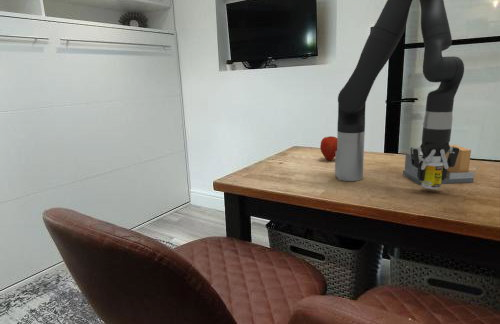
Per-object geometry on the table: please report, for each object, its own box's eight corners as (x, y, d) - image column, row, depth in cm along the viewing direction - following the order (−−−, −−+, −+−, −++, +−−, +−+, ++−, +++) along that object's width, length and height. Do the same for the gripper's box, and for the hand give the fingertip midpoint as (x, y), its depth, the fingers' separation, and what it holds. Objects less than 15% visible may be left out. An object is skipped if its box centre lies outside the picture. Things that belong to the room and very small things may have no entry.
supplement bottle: (434, 191, 102) (437, 158, 99) (416, 186, 107) (419, 155, 104) (444, 187, 105) (448, 155, 102) (427, 182, 109) (430, 152, 107)
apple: (337, 163, 143) (338, 138, 140) (317, 162, 146) (317, 137, 143) (341, 158, 150) (342, 134, 147) (322, 157, 154) (322, 134, 151)
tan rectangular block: (458, 176, 113) (461, 150, 111) (443, 169, 122) (446, 145, 120) (467, 176, 113) (471, 150, 111) (452, 169, 122) (454, 144, 120)
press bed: (419, 184, 112) (421, 160, 110) (402, 174, 124) (404, 151, 122) (473, 182, 112) (476, 157, 110) (451, 172, 124) (454, 149, 122)
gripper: (418, 129, 97) (413, 184, 102) (469, 127, 97) (461, 183, 101) (407, 125, 105) (402, 177, 109) (454, 123, 104) (447, 175, 109)
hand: (431, 179), depth 105 cm, fingers closed on supplement bottle, 5 cm apart
